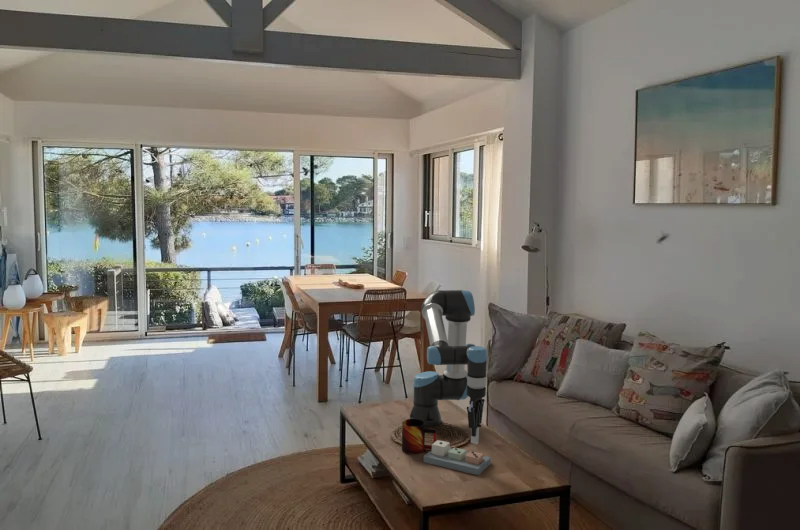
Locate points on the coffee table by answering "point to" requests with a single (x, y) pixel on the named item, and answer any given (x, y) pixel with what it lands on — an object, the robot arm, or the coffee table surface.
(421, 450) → the mug
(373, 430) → the coffee table surface
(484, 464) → the keypad board
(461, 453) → the key two
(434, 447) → the key one
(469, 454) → the key three
